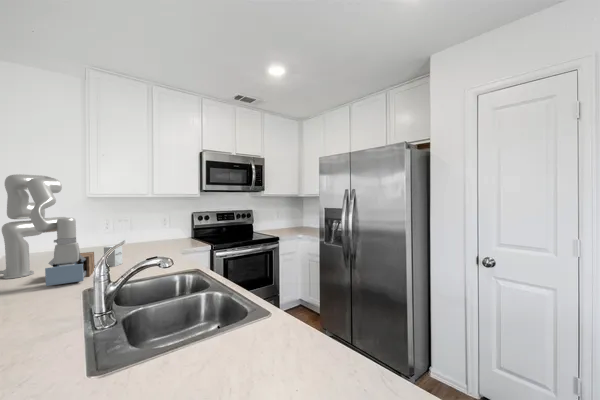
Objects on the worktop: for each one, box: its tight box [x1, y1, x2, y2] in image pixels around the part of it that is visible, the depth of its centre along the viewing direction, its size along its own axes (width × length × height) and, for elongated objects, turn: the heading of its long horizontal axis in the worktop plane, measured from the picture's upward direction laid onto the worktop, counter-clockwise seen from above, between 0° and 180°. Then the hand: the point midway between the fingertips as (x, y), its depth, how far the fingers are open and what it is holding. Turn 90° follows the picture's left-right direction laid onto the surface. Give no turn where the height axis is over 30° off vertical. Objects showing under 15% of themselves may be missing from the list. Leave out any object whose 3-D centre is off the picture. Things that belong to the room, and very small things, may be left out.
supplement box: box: [103, 244, 123, 268], centre depth 175 cm, size 7×7×13 cm
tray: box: [44, 264, 87, 287], centre depth 141 cm, size 14×15×9 cm
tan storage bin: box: [57, 251, 95, 278], centre depth 153 cm, size 14×15×12 cm
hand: (68, 274), depth 141 cm, fingers open, 5 cm apart
